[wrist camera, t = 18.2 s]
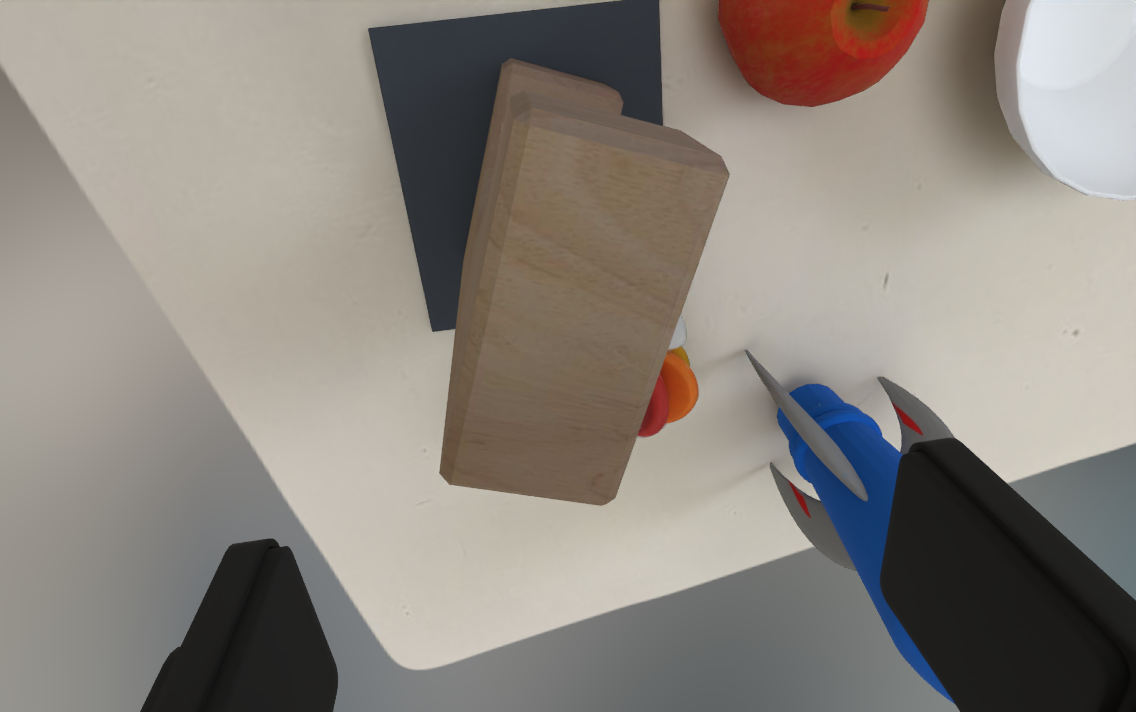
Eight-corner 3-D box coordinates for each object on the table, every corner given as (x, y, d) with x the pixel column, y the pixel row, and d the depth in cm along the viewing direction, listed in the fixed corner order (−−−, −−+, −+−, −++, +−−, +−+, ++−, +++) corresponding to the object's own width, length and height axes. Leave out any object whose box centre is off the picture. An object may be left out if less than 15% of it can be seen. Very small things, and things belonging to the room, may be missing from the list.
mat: (432, 329, 39) (432, 332, 39) (369, 28, 32) (367, 28, 32) (666, 298, 40) (668, 301, 40) (657, -4, 33) (658, -4, 32)
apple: (661, 17, 33) (729, 18, 24) (784, -137, 31) (914, -204, 21) (769, 127, 36) (868, 168, 27) (889, -5, 34) (1045, -12, 24)
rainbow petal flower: (671, 410, 44) (702, 484, 38) (523, 410, 43) (529, 487, 36) (692, 291, 40) (731, 352, 33) (528, 288, 38) (536, 351, 32)
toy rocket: (734, 344, 42) (1004, 714, 20) (884, 296, 41) (1332, 622, 19) (762, 474, 47) (1001, 886, 25) (896, 433, 46) (1262, 816, 24)
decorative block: (503, 53, 33) (519, 101, 15) (613, 86, 34) (747, 165, 16) (458, 263, 37) (429, 489, 20) (556, 285, 39) (612, 517, 21)
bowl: (1287, -42, 35) (1460, -54, 29) (1051, 220, 40) (1153, 258, 34) (1103, -262, 30) (1263, -334, 24) (862, 72, 35) (941, 84, 29)
